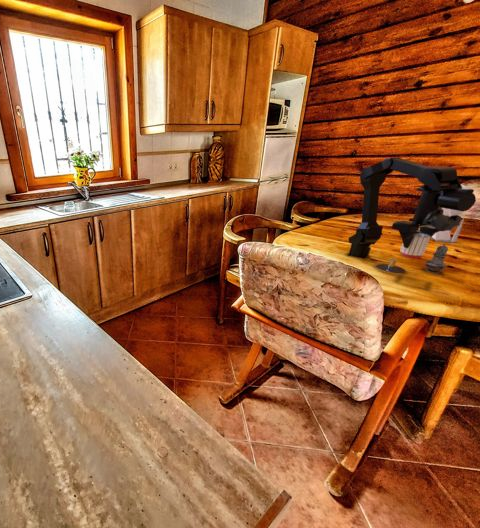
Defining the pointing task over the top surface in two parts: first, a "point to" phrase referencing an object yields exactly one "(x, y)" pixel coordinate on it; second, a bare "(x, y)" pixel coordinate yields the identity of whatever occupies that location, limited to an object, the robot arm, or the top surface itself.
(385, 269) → the towel stand
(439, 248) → the dark grey tapered piece
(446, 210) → the skyscraper
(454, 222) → the robot arm
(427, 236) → the grey ribbed cylinder
